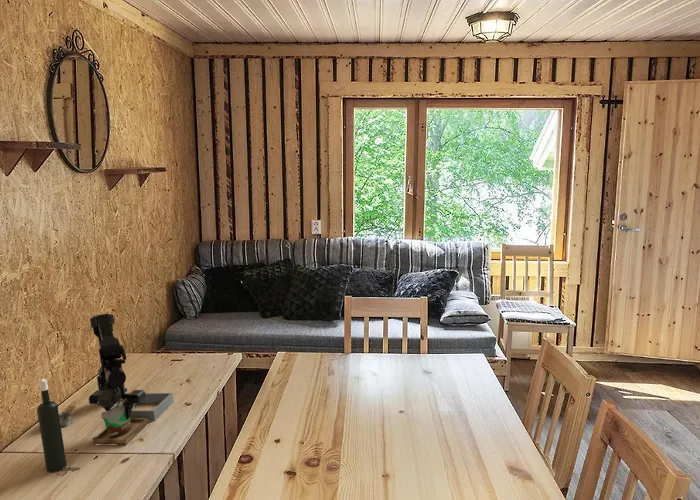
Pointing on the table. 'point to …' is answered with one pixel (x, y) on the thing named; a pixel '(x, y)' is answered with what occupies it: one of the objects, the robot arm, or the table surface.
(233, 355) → the table surface
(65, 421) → the egg carton
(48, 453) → the wine bottle
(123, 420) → the food container
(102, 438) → the tray
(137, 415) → the tub
